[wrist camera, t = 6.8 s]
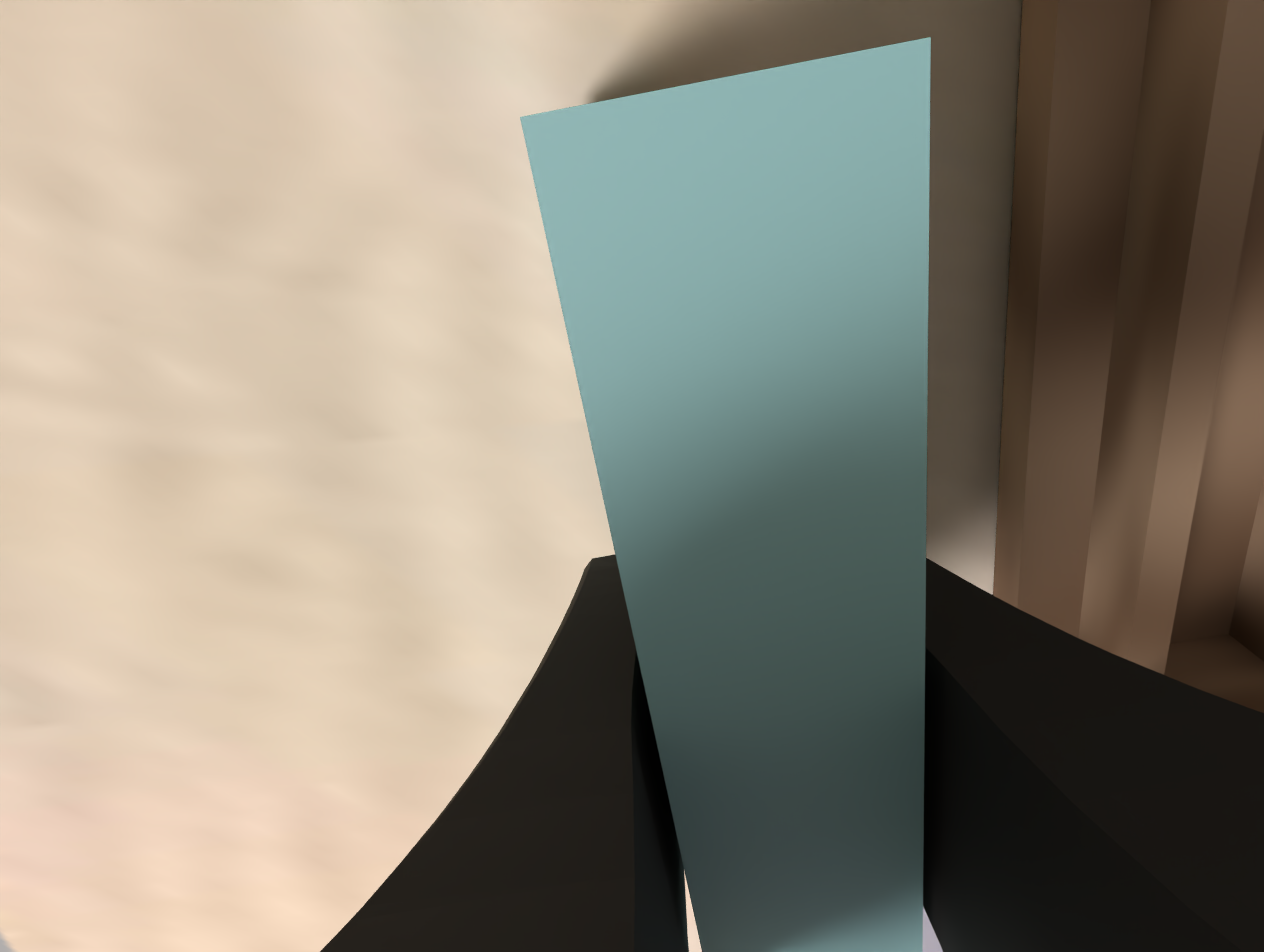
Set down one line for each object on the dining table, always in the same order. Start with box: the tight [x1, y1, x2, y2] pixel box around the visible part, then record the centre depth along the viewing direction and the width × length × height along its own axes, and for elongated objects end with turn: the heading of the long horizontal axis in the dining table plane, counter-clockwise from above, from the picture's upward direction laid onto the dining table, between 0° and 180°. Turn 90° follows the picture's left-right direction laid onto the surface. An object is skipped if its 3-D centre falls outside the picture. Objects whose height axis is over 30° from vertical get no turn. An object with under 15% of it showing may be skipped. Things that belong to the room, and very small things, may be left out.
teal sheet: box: [520, 37, 931, 952], centre depth 10 cm, size 12×2×9 cm, turn 10°
